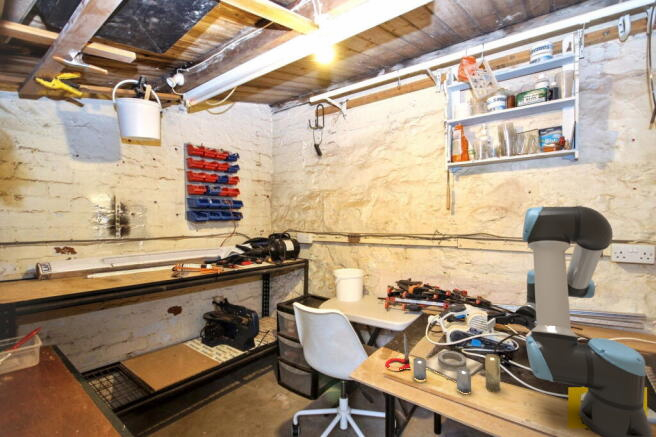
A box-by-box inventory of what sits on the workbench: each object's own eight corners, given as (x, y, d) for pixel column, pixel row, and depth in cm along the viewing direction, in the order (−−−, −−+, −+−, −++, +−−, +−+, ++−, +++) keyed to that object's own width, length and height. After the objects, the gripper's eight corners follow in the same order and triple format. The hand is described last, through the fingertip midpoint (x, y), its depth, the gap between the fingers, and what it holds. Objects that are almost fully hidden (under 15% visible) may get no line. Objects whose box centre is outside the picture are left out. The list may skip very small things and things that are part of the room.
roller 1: (428, 378, 116) (428, 360, 116) (421, 384, 113) (421, 365, 113) (418, 373, 120) (417, 356, 119) (411, 378, 117) (410, 360, 116)
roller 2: (473, 390, 109) (473, 370, 108) (467, 396, 106) (466, 376, 105) (461, 384, 112) (460, 365, 111) (454, 390, 109) (454, 370, 109)
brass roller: (502, 388, 109) (502, 357, 108) (496, 393, 106) (496, 362, 105) (489, 382, 112) (488, 352, 111) (483, 387, 110) (483, 357, 108)
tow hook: (387, 373, 122) (411, 371, 121) (384, 341, 121) (409, 339, 120) (384, 361, 130) (407, 359, 130) (381, 331, 129) (404, 329, 128)
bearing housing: (482, 366, 122) (482, 357, 121) (461, 385, 112) (461, 375, 111) (444, 351, 134) (444, 343, 134) (421, 366, 124) (421, 357, 124)
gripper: (565, 333, 120) (545, 356, 106) (496, 314, 139) (472, 331, 126) (565, 314, 119) (546, 334, 105) (496, 298, 138) (471, 313, 125)
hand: (505, 333), depth 116 cm, fingers open, 13 cm apart
